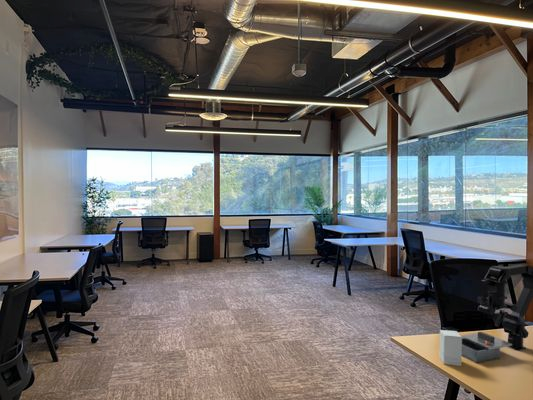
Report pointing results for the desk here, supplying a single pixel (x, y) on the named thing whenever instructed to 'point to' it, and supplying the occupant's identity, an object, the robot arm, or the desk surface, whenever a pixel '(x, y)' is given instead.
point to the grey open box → (478, 352)
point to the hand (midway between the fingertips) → (497, 326)
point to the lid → (486, 340)
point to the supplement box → (450, 347)
